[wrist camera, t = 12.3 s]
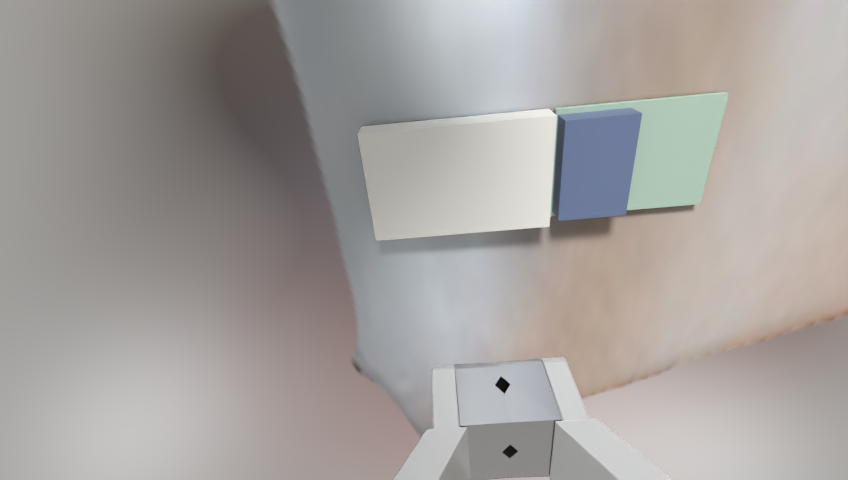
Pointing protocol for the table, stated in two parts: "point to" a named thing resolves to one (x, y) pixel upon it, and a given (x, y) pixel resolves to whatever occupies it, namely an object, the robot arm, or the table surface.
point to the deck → (459, 174)
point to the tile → (594, 163)
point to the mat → (668, 147)
